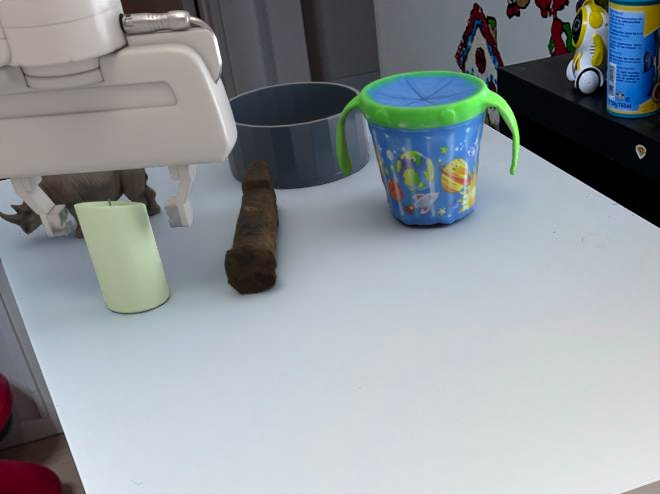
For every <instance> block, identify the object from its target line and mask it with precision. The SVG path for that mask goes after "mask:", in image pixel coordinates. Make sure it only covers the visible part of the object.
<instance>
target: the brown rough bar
mask: <svg viewBox="0 0 660 494" xmlns="http://www.w3.org/2000/svg"><path fill="white" fill-rule="evenodd" d="M240 183H241V191H242V196H241V204H240V208H239V213H238V217H237V220H236V225H235V229H234V235H233V240H232V245H231V248H230V249H227V250H226V252H225V255H224V263H223V265H224V271H225V275H226V278H227V284H228V285H229V286H230V287H231V288H233V290H235V291H236V292H237V293H239V294H241V295H244V294H245V295H246V294H257V293H260V292H263V291H267V290H270V289H272V288H273V287H274V286H276V283H277V279H278V275H277V273H276V270H277V267H278V260H277V257H276V252H277V227H278V226H279V225H280V220H279V219H280V217H279V209H278V203H277V194H276V193H277V192H276V191H275V188H274V187H273V182H272V177H271V173H270V169H269V166H268V165H267V164H266V162H264V161H262V160H257V161H255V162H252V163H250V164H249V165H248V166H247V169H246V171H245V173H244V174H243V176H242V182H240Z"/></svg>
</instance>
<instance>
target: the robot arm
mask: <svg viewBox="0 0 660 494" xmlns="http://www.w3.org/2000/svg"><path fill="white" fill-rule="evenodd" d="M192 24H193V25H195V26H198V27H192V26H193V25H192ZM221 55H222V54H221V51H220V47H219V42H218V38H217V36H216V34H215V32H214V30H213V29H212V28H211V27H210V25H208V23H206V22H205V21H204V20H202V19H200V18H199V17H195V16H192V15H191V14H190V12H189V11H187V10H178V9H177V10H176V9H175V10H170V11H167V12H163V13H162V12H161V13H156V12H155V13H151V12H141V13H126V14H125V12H124V9H123V6H122V2H121V0H0V180H3V179H4V180H5V179H10V182H11V185H12V188H13V190H14V193H15V194H16V195H17V196H18V198H20V199H21V200H22V202H23V201H24V202H25V203H26V204H27V205H28V206H29V207H30V208H31V209H32V210H33V211H34V212H35V213H36V214H37V215H40V218H41V221H42V223H43V224H42V226H43V228H44V231H45V233H46V235H47V237H59V236H69V235H70V233H71V232H72V231H73V223H72V219H71V218H70V217H69V211H68V210H67V208H66V205H55V204H54V203H53V202H52V201H51V200H50V198H49V197H48V196H47V195H46V194H45V193H44V192H43V190H42V189H41V188H40V187H39V186H38V184H39V183H40V182H41V181H42V178H41V176H45V175H58V174H72V173H85V172H98V171H112V170H125V169H138V168H145V169H150V168H163V167H168V172H169V175H170V178H171V181H173V182H178V181H179V185H178V189H177V192H176V195H175V196H169V197H168V199H167V201H166V202H165V203H164V205H163V207H164V211H165V215H166V216H167V217H168V220H167V222H168V224H169V227H170V228H171V229H175V228H189V227H191V226H192V225H193V223H194V218H195V217H194V213H193V208H192V204H191V200H190V196H191V192H192V189H193V186H194V181H195V178H196V175H197V171H198V168H197V165H202V164H203V165H205V164H215V163H216V164H217V163H222V162H224V161H225V160H226V159H227V158H228V155H229V154H230V152H231V151H232V149H233V147H234V145H235V143H236V140H237V128H236V124H235V120H234V117H233V113H232V110H231V107H230V104H229V98H228V94H227V92H226V89H225V86H224V84H223V83H224V82H223V80H222V78H221V76H222V73H223V61H222V56H221Z"/></svg>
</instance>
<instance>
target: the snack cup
mask: <svg viewBox="0 0 660 494" xmlns="http://www.w3.org/2000/svg"><path fill="white" fill-rule="evenodd" d="M359 92H360V94H359V95H357V96H356V97H354V98H353V99H352V100H351V101H350V102H349V103H348V104H347V106H346V107H345V108H344V110H343V111H342V113H341V115H340V118H339V121H338V124H337V130H336V152H337V158H338V162H339V166H340V168H341V171H342V173H343V174H344V175H345V176H346V177H349V176H351V175H352V174H351V171H352V162H351V159H350V154H349V150H348V146H347V142H346V138H345V134H344V131H345V124H346V118H347V116H348V114H349V113H350V112H351V111H352V110H353V109H354V108H355V109H358V110H360V111H361V112H362V114H363V115H364V117H365V121H366V122H367V127H368V130H369V133H370V137H371V141H372V145H373V149H374V153H375V157H376V162H377V166H378V169H379V173H380V177H381V178H380V179H381V182H382V185H383V188H384V191H385V194H386V195H385V196H386V202H387V204H388V206H389V209H390V212H391V213H392V216H394V217H395V218H396V219H397V220H399V221H401V222H402V223H404V224H406V225H408V226H412V225H414V226H415V225H417V226H432V225H435V224H442V225H443V224H444V225H452V224H453V223H454V222H455V221H458V220H461V219H464V218H465V216H467V215H469V213H470V212H473V211H474V208H475V203H476V199H477V198H476V197H477V185H478V175H479V163H480V151H481V141H482V138H483V132H484V125H485V119H486V114H487V109H488V108H490V107H491V108H495V109H496V110H497V111H498V113H499V115H500V117H501V118H502V119H503V121H504V122H505V124H506V125H507V127H508V129H509V131H510V132H511V134H512V142H511V164H510V167H509V174H510V175H511V176H514V175H515V172H516V170H517V169H516V168H517V164H518V160H519V154H520V153H519V152H520V133H519V127H518V122H517V119H516V117H515V114H514V112H513V110H512V109H511V107H510V105H509V104H508V103H507V101H506V100H505V99H504V98H503V97H502V96H501V95H499V94H498V93H496V92H494V91H493V90H490V89H489V87H488V86H487V84H486V82H485V81H484V80H483V79H481V78H480V77H478V76H475V75H474V74H469V73H465V72H458V71H451V70H419V71H410V72H409V71H408V72H403V73H397V74H393V75H389V76H385V77H381V78H379V79H376V80H374V81H371V82H370V83H368V84H366V85H365V86H364V87H363V88H362V89H361V90H360V91H359ZM350 174H351V175H350Z"/></svg>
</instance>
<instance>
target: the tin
mask: <svg viewBox="0 0 660 494" xmlns="http://www.w3.org/2000/svg"><path fill="white" fill-rule="evenodd" d="M360 92H361V91H360V90H358V89H356V88H354V87H352V86H349V85H346V84H342V83H336V82H335V83H334V82H328V81H327V82H326V81H301V82H300V81H299V82H287V83H281V84H274V85H269V86H264V87H259V88H255V89H252V90H249V91H246V92H243V93H239V94H238V95H236V96H234V97H231V98H228V100H229V104H230V107H231V110H232V113H233V117H234V120H235V124H236V128H237V140H236V143H235V145H234V147H233V149H232V151H231V152H230V154H229V155H228V157H227V158H228V163H229V167H230V173H231V174H232V176H233V178H234V179H235V180H237V181H238V182H240V183H241V182H242V176H243V174H244V173H245V171H246V169H247V166H248V165H249V164H250V163H252V162H255V161H257V160H262V161H264V162H266V164H267V165H268V166H269V169H270V173H271V177H272V182H273V187H274V189H281V190H282V189H297V188H307V187H314V186H320V185H323V184H327V183H331V182H335V181H338V180H341V179H344V178H346V177H347V176H345V175H344V174H343V173H342V171H341V168H340V166H339V162H338V158H337V152H336V130H337V124H338V121H339V118H340V115H341V113H342V111H343V110H344V108H345V107H346V106H347V104H348V103H349V102H350V101H351V100H352V99H353V98H354V97H356V96H357V95H359V94H360ZM366 122H367V121H366V119H365V117H364V115H363V114H362V112H361V111H360V110H358V109H355V108H354V109H353V110H352V111H351V112H350V113H349V114H348V116H347V118H346V124H345V131H344V134H345V138H346V142H347V146H348V150H349V154H350V159H351V162H352V171H351V174H350V175H349V176H351V175H353V174H355V173H357V172H359V171H360V170H362V169H363V168H364V166H366V165H367V163H368V162H369V159H370V147H369V138H368V131H367V123H366Z"/></svg>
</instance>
